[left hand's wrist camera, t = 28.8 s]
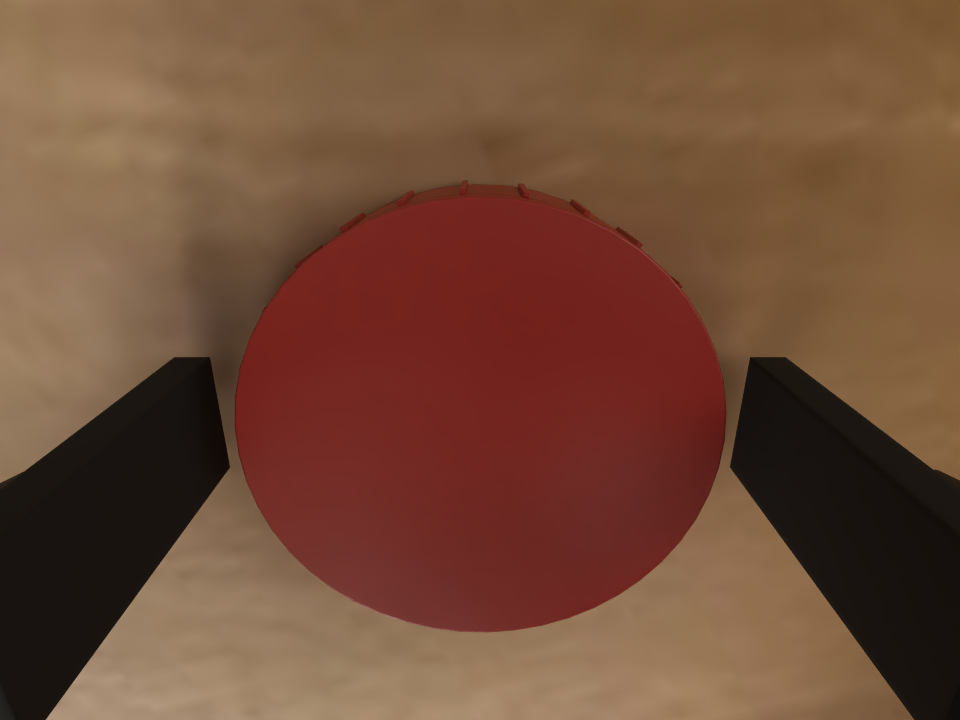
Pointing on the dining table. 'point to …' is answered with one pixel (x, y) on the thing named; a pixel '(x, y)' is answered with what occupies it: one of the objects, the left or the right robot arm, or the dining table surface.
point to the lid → (480, 410)
